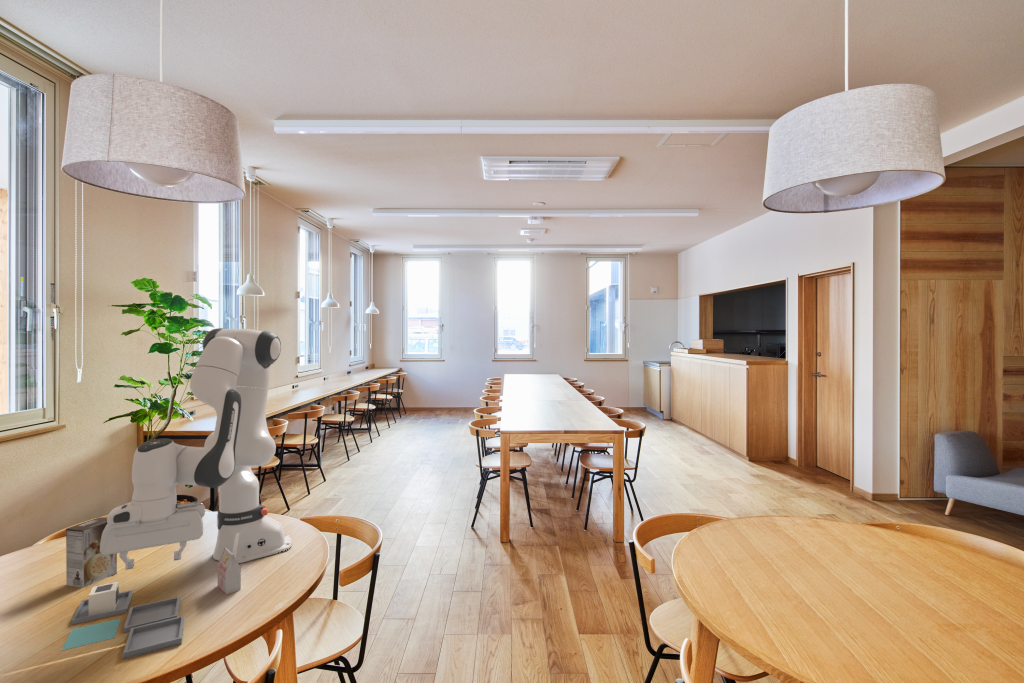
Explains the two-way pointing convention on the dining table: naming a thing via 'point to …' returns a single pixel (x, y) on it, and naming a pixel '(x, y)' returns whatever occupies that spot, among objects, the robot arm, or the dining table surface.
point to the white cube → (103, 598)
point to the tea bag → (229, 573)
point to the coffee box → (87, 554)
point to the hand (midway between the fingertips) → (154, 563)
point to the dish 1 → (121, 608)
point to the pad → (91, 634)
